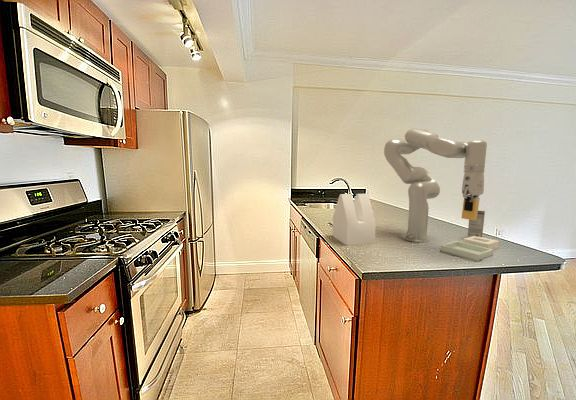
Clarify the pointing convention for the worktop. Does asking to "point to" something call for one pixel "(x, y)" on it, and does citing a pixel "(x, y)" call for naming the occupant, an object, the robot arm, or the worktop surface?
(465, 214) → the fuse
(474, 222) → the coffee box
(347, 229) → the white notched block
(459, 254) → the parts tray
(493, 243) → the beige square stand
